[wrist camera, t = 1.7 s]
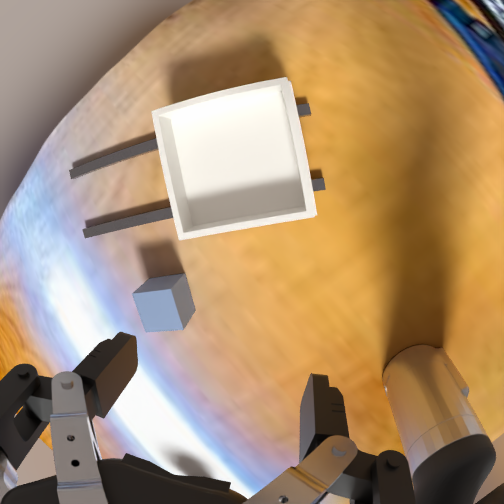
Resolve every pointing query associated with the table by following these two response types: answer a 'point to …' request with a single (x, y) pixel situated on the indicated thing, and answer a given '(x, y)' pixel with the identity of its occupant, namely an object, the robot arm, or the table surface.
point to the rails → (156, 214)
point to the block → (164, 303)
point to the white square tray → (235, 159)
